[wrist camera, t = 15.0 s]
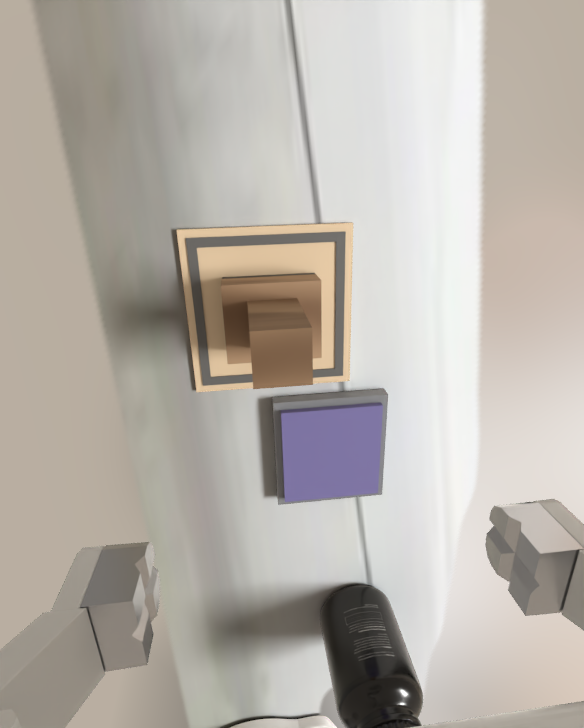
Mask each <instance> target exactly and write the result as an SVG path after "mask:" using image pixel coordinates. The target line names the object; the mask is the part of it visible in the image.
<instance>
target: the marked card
mask: <svg viewBox="0 0 584 728" xmlns="http://www.w3.org/2000/svg"><path fill="white" fill-rule="evenodd" d="M177 238H178V246H179V254H180V262H181V270H182V278H183V286H184V294H185V302H186V310H187V318H188V326H189V334H190V342H191V350H192V358H193V366H194V374H195V382H196V391H197V392H206V391H219V390H233V389H246V388H253V377H252V363H241V364H228V363H227V352H226V341H225V330H224V319H223V308H222V297H221V286H220V285H221V280H222V277H236V276H256V275H276V274H296V273H315V274H316V275H317V276H318V277H319V278H320V279H321V322H322V358H314V359H313V384H314V383H328V382H341V381H349V379H350V337H351V294H352V252H353V223H329V224H304V225H278V226H253V227H227V228H202V229H177Z"/></svg>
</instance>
